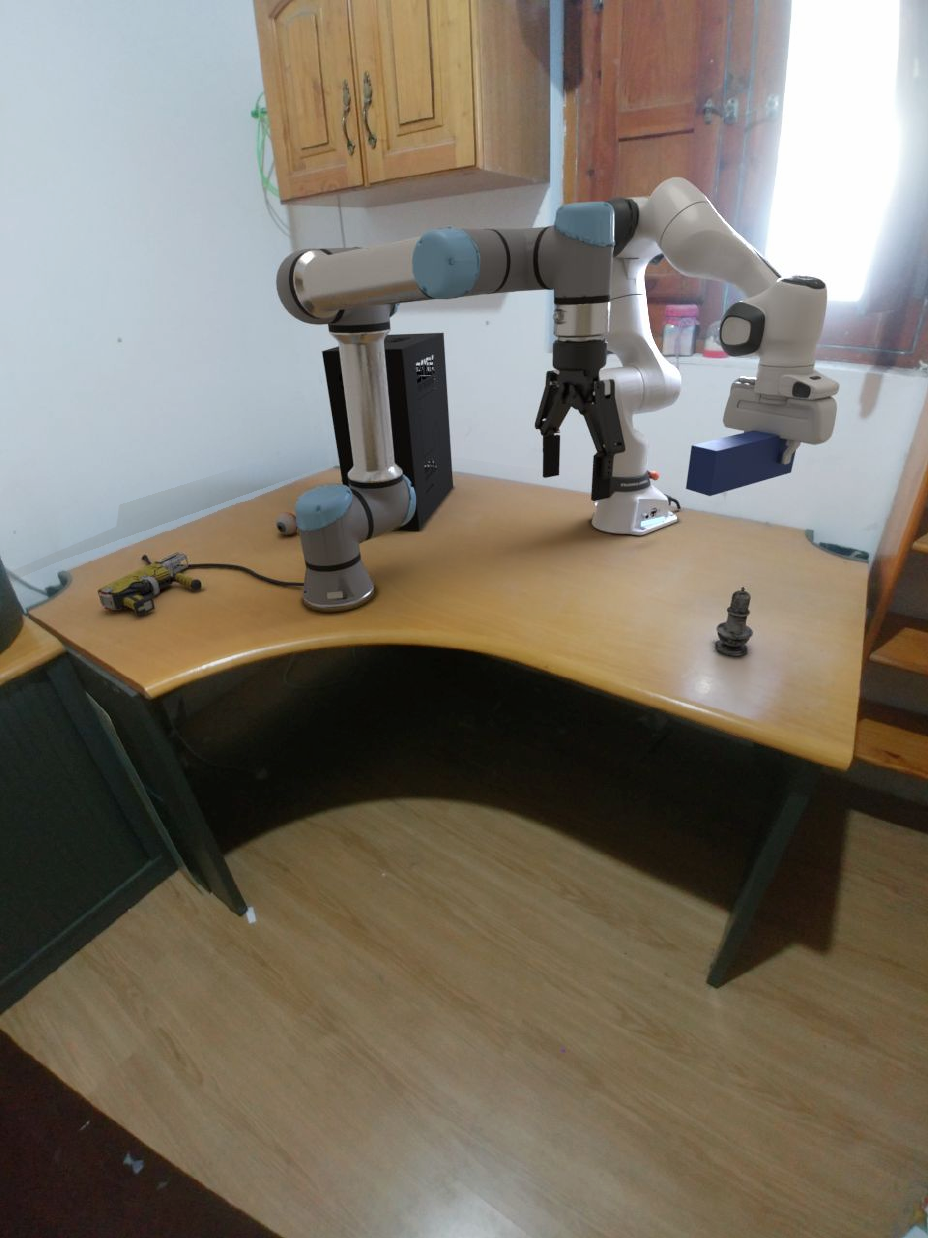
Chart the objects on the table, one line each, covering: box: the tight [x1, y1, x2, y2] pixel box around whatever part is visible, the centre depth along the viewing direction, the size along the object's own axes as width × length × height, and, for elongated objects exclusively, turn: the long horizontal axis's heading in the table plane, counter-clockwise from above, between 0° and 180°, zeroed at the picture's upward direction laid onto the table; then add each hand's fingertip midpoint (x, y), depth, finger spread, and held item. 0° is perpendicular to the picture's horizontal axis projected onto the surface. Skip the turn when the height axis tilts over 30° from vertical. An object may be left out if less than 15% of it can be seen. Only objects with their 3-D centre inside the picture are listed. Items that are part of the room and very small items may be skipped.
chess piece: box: [714, 586, 754, 657], centre depth 103 cm, size 6×6×12 cm
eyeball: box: [275, 511, 298, 536], centre depth 163 cm, size 6×6×6 cm
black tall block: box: [321, 332, 454, 532], centre depth 169 cm, size 38×20×45 cm, turn 167°
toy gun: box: [97, 551, 203, 617], centre depth 137 cm, size 5×24×15 cm
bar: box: [685, 430, 797, 497], centre depth 110 cm, size 22×5×8 cm, turn 120°
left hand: (574, 487), depth 94 cm, fingers open, 13 cm apart
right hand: (767, 459), depth 113 cm, fingers closed on bar, 5 cm apart
